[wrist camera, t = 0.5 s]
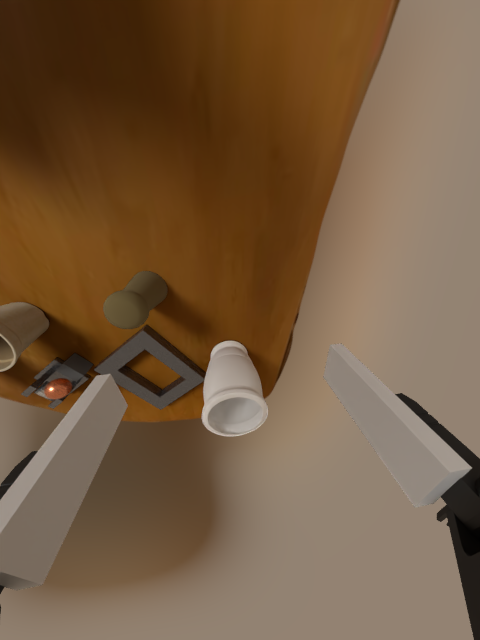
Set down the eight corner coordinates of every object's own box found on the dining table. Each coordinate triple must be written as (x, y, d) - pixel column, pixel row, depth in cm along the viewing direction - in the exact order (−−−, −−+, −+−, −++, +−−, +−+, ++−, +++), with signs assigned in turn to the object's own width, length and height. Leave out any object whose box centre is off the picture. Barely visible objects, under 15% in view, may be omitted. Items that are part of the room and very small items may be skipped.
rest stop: (67, 359, 37) (55, 370, 34) (74, 352, 36) (63, 363, 34) (86, 370, 39) (76, 381, 36) (93, 364, 38) (83, 375, 35)
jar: (197, 346, 39) (188, 408, 26) (242, 328, 38) (256, 383, 25) (217, 378, 44) (218, 444, 31) (257, 364, 43) (276, 424, 30)
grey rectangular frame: (99, 362, 38) (93, 369, 36) (146, 324, 35) (142, 330, 33) (163, 401, 46) (160, 409, 44) (205, 372, 43) (205, 379, 41)
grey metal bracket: (36, 375, 38) (10, 397, 33) (57, 357, 36) (32, 377, 31) (70, 392, 41) (50, 415, 36) (90, 376, 39) (72, 397, 35)
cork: (171, 302, 34) (153, 333, 24) (137, 305, 34) (106, 338, 24) (162, 269, 31) (138, 289, 21) (125, 272, 31) (84, 295, 21)
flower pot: (63, 344, 35) (22, 377, 28) (2, 335, 33) (-61, 368, 26) (57, 300, 31) (6, 324, 24) (-13, 286, 29) (-93, 309, 22)
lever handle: (64, 388, 38) (49, 402, 36) (47, 379, 36) (31, 394, 34) (79, 384, 28) (61, 403, 26) (58, 373, 27) (37, 392, 25)
